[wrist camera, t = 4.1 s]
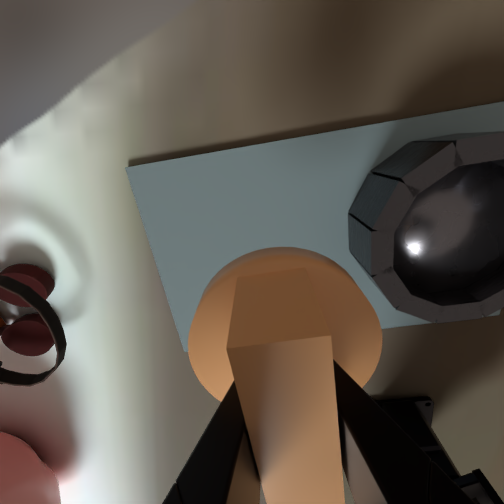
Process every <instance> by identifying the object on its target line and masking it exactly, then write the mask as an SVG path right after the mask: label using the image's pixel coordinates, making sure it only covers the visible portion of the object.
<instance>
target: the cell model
mask: <svg viewBox="0 0 504 504" xmlns="http://www.w3.org/2000/svg"><path fill="white" fill-rule="evenodd" d="M0 504H61V498H60V491H59V484H58V481H57V478H56V475H55V474H54V472H53V471H52V469H51V468H50V467H49V466H47V465H46V464H45V463H44V462H43V461H41V460H40V459H39V457H38V455H37V454H36V453H35V451H34V450H33V449H32V447H31V446H30V445H29V444H28V443H26V442H25V441H24V440H23V439H21V438H18V437H16V436H14V435H11V434H8V433H4V432H0Z"/></svg>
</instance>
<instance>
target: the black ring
mask: <svg viewBox="0 0 504 504" xmlns="http://www.w3.org/2000/svg"><path fill="white" fill-rule="evenodd" d="M370 171H371V173H372V174H370V173H368V174H367V176H366V178H365V180H364V182H363V184H362V186H361V188H360V190H359V192H358V193H357V195H356V197H355V199H354V201H353V203H352V205H351V207H350V209H349V212H350V213H349V214H348V240H349V250H350V253H351V254H352V256H353V257H354V258H355V260H356V261H357V263H358V264H359V265H360V267H361V268H362V269H363V271H364V272H365V273H366V275H367V276H368V277H369V279H370V280H371V281H372V282H373V283H374V285H375V286H376V287H377V288H378V289H379V291H380V292H381V293H382V294H383V296H384V297H385V298H386V299H387V300H388V302H389V303H390V304H391V305H392V306H393V308H395V309H396V310H398V311H401V312H403V313H406V314H409V315H412V316H415V317H418V318H420V319H423V320H426V321H429V322H432V323H434V322H436V323H446V322H454V321H463V320H471V319H480V318H482V315H483V316H484V317H487V316H488V315H490V314H492V313H494V312H496V311H498V310H500V309H502V308H504V131H495V132H476V133H456V134H450V135H444V136H438V137H433V138H427V139H421V140H415V141H411V142H408V143H407V144H405V145H404V146H403V147H401V148H400V149H399V150H397V151H396V152H395V153H393V154H392V155H391V156H389V157H388V158H387V159H385V160H384V161H383V162H381V163H380V164H379V165H377V166H376V167H374V168H373V169H372V170H370Z"/></svg>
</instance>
